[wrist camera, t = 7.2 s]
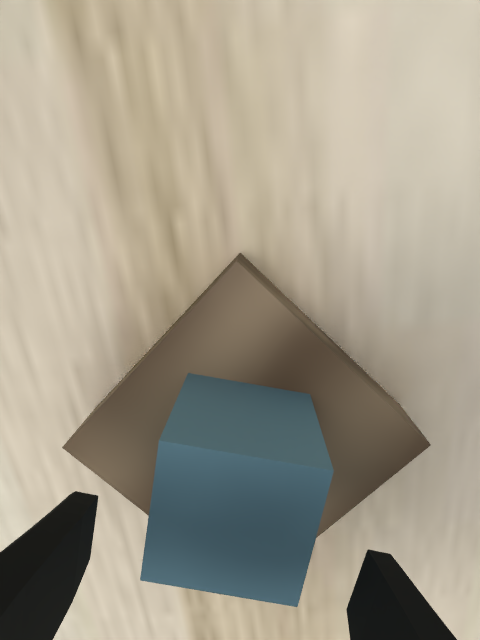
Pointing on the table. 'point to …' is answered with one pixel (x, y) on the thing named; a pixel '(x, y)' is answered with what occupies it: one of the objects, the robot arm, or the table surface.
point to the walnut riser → (254, 368)
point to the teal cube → (237, 491)
